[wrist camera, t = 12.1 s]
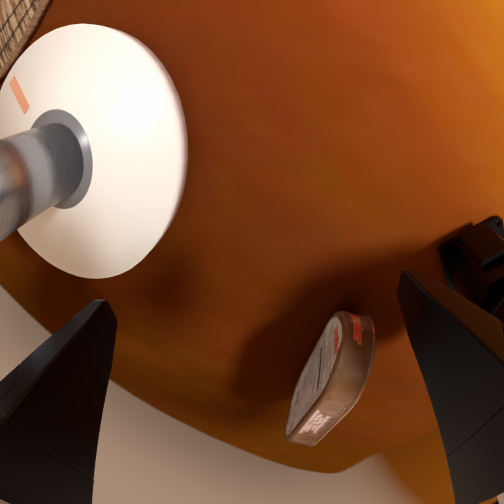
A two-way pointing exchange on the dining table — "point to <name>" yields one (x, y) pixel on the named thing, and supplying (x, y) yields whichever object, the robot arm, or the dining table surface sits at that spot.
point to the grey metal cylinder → (37, 173)
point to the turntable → (102, 145)
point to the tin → (331, 377)
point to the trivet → (18, 28)
